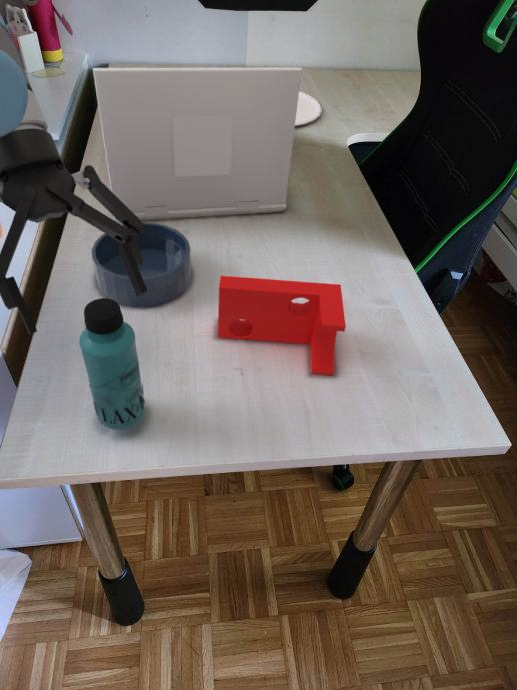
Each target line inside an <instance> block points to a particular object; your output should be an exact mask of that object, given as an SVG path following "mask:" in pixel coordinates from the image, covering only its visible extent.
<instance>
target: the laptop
mask: <svg viewBox="0 0 517 690" xmlns="http://www.w3.org/2000/svg"><path fill="white" fill-rule="evenodd" d="M302 70H303V69H302V67H301V66H299V67H296V66H295V67H293V66H291V67H287V66H285V67H92V73H93V80H94V86H95V87H94V88H95V93H96V100H97V106H98V107H97V108H98V114H99V119H100V126H101V127H100V128H101V133H102V140H103V146H104V147H103V148H104V153H105V159H106V167H107V173H108V179H109V180H108V181H109V186H110V191H111V192H112V193H113V194H114V195H115V196H116V197H118V198H119V199H120V200H121V201H122V202H123V203H124V204H125V205H126V206H127V207H128V208H129V209H130V210H131V211H132V212H133V213H134V214H135V215H136V216H137V217H138V218H139V219H140V220H141V221H153V220H169V219H170V220H171V219H185V218H187V219H188V218H200V217H203V218H204V217H218V216H219V217H220V216H233V215H249V214H251V215H252V214H253V215H254V214H267V213H268V214H269V213H279V212H282V211H284V210H286V209H287V195H288V187H289V178H290V170H291V161H292V153H293V147H294V146H293V144H294V137H295V136H294V135H295V128H296V126H295V121H296V112H297V104H298V96H299V91H300V87H301V78H302ZM114 219H115V220H116V221H119V220H118V219H116V218H115V217H114Z"/></svg>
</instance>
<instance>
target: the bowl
mask: <svg viewBox="0 0 517 690" xmlns="http://www.w3.org/2000/svg"><path fill="white" fill-rule="evenodd" d="M142 222H143V221H142ZM143 223H144V224H145V229H144V230H143V231H142V232H141V233H140V234H139V235H138V236H137V237H136V238H135V241H136V244H137V247H138V249H139V252H140V254H141V257H142V259H143V265H141V266H140V267H138V269H139V271H140V274H141V276H142V279H143V281H144V284H145V286H146V289H147V292H145V293H144V294H142V295H139V296H137V295H136V293H135V291H134V288H133V286H132V283H131V281H130V278H129V276H128V273H127V271H126V269H125V266H124V264H123V261H122V259H121V256H120V254H119V251H118V249H117V248H118V247H119V245H120V244H121V242H119V241H117V240H116V239H114V238H112V237H111V236H109V235H107V234H106V233H104V232H103V234H101V235H100V236H98V238H97V239H96V240H95V241H94V243H93V246H92V249H91V259H92V264H93V268H94V275H95V278H96V283H97V286H98V288H99V290H100V292H101V293H102V294H103V295H104V296H105V298H108V299H112V300H114V301H116V302H117V303H118V304H119V305H121V306H125V307H131V308H132V307H133V308H152V307H157V306H158V307H159V306H161V305H164V304H168V303H170V302H172V301H174V300H175V299H177V298H179V297H180V296H181V295H183V293H185V292H186V290H187V289H188V287H189V286H190V284H191V279H192V258H191V246H190V243H189V240H188V239H187V238H186V236H185V235H184V234H183V233H181V232H180V231H179V230H177V229H176V228H173V227H171V226H169V225H166V224H161V223H156V222H145V221H144V222H143ZM121 225H122V226H124V225H123V224H121ZM124 227H125V226H124ZM125 228H126V227H125Z"/></svg>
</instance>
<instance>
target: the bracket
mask: <svg viewBox="0 0 517 690" xmlns="http://www.w3.org/2000/svg"><path fill="white" fill-rule="evenodd" d="M300 298H301V299H305V300H307V301H306V302H303V303H301V302H293V300H296V299H300ZM217 313H218V321H217V323H218V324H217V339H229V340H230V339H231V340H242V341H243V340H244V341H257V342H258V341H259V342H271V343H272V342H273V343H285V344H286V343H287V344H299V345H309V356H310V374H311V375H323V376H334V373H335V348H336V347H335V346H336V340H337V334H338V332H342V333H345V332H346V327H347V325H346V317H345V309H344V301H343V293H342V284H340V283H327V282H313V281H299V280H286V279H271V278H261V277H260V278H259V277H246V276H232V275H220V277H219V284H218V312H217Z"/></svg>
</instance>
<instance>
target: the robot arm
mask: <svg viewBox="0 0 517 690" xmlns="http://www.w3.org/2000/svg"><path fill="white" fill-rule="evenodd" d="M48 129H49V126H48V123H47V122H46V119H45V116H44V114H43V111H42V109H41V106H40V105H39V102H38V100H37V97H36V95H35V94H34V91H33V88H32V86H31V83H30V80H29V78H28V76H27V73H26V69H25V67H24V65H23V62H22V60H21V57H20V55H19V53H18V49H17V47H16V45H15V42H14V37H13V36H12V33H11V32H10V29H9V28H8V27H7V24H6V23H5V20H4V18H3V16H2V14H0V203H2V204H3V205H5V206H6V207H8V208H9V209H11V210H12V211H14V212H15V213H14V216H13V219H12V222H11V224H10V226H9V230H8V232H7V235H6V237H5V240H4V241H3V242H4V243H3V245H2V247H1V249H0V298H1V301H2V303H3V304H4V307H5V308H6V309H7V310H9V311H10V310H14V309H15V308H17V311H18V312H19V315H20V317H21V319H22V322H23V324H24V326H25V328H26V331H27V333H28V335H29V336H30V335H33V334H35V333H37V332H38V329H37V327H36V324H35V322H34V320H33V318H32V316H31V313H30V311H29V309H28V305H27V304H26V301H25V299H24V296H23V295H22V292H21V290H20V288H19V286H18V283H17V281H16V279H15V276H14V275H12V276H10V277H6V276H7V275H8V271H9V268H10V267H11V263H12V261H13V258H14V255H15V253H16V250H17V248H18V245H19V243H20V240H21V238H22V234H23V232H24V230H25V227H26V224H27V222H28V221H29V222H33V223H35V224H39V223H42V222H44V221H46V220H48V219H57V218H62V217H63V216H64V215H65V214H66V213H68V214H70V215H72V216H74V217H78V218H79V219H81V220H83V221H84V222H86V223H87V224H89V225H90V226H92V227H94V228H96V229H97V230H98V231H100V232H102V233H103V234H104V233H106V234H107V235H109V236H111V237H112V238H114V239H116V240H117V241H119V242H121V244H120V245H119V247H118V248H117V249H118V251H119V254H120V256H121V259H122V261H123V264H124V266H125V269H126V271H127V273H128V276H129V278H130V281H131V283H132V286H133V288H134V291H135V293H136V295H137V296H139V295H142V294H144V293H145V292H147V289H146V286H145V284H144V281H143V279H142V276H141V274H140V271H139V269H138V267H140V266H141V265H143V259H142V257H141V254H140V252H139V249H138V247H137V244H136V241H135V238H136V237H137V236H138V235H139V234H140V233H141V232H142V231H143V230H144V229H145V224H144V223H143V220H140V219H139V218H138V217H137V216H136V215H135V214H134V213H133V212H132V211H131V210H130V209H129V208H128V207H127V206H126V205H125V204H124V203H123V202H122V201H121V200H120V199H119V198H118V197H116V196H115V195H114V194H113V193H112V192H111V189H109V188H108V186H106V184H104V182H102V181H101V178H100V177H99V175H98V173H97V171H96V169H95V168H94V166H93V165H90V164H87V165H85V166H84V168H83V169H82V170H80V171H77V172H74V173H70V171H68V170H67V168H66V167H65V164H64V162H63V160H62V157H61V155H60V152H59V150H58V148H57V145H56V143H55V141H54V138H53V136H52V134H51V133H50V132H48ZM75 185H79V187H81V188H82V189H83V190H87V191H88V192H89V194H91V195H92V197H93V198H95V199H96V201H98V203H99V204H101V205H102V206H103V207H104V209H106V210H107V212H108V213H110V214H111V215H112V216H113V217H114V219H115V218H116V219H118V220H116V219H115V220H116V221H115V220H114V219H112V218H111V217H109V216H107V215H106V214H104V213H103V212H101V211H100V210H98V209H96V208H94V207H93V206H91V205H90V204H88V203H87V202H86V201H85V200H84V199H83V198H81V197H79V196H78V195H76V194H74V193H73V192H74V189H75ZM117 221H119V222H117ZM122 225H124V226H125V227H126V228H125V227H124V226H122Z"/></svg>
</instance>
